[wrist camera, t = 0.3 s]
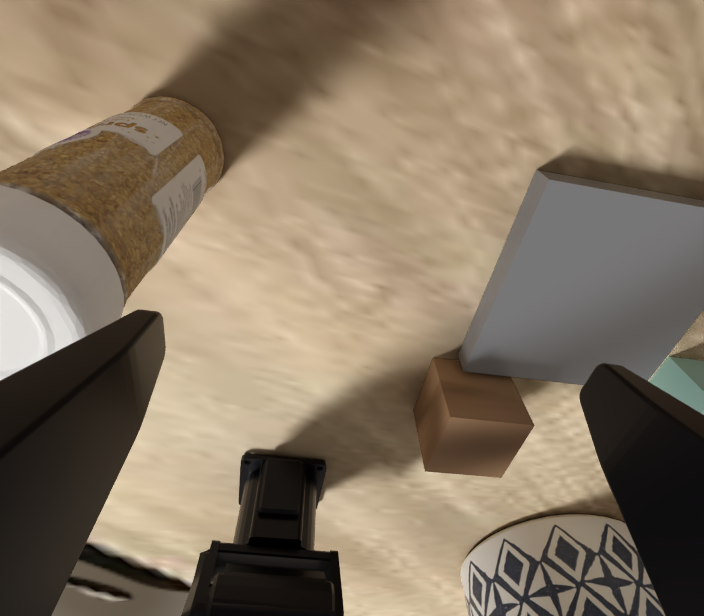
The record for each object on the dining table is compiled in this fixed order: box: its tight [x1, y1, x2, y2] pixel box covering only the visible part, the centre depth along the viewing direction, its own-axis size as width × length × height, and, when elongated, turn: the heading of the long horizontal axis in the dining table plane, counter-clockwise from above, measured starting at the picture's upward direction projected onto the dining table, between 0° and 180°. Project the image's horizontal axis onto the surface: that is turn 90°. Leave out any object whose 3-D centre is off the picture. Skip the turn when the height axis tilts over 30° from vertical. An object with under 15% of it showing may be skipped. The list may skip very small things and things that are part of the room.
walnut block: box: [413, 358, 534, 478], centre depth 27 cm, size 5×5×5 cm
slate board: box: [458, 170, 704, 385], centre depth 24 cm, size 12×12×2 cm
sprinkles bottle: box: [0, 96, 224, 380], centre depth 14 cm, size 5×5×13 cm
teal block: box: [649, 356, 704, 415], centre depth 28 cm, size 4×4×4 cm
